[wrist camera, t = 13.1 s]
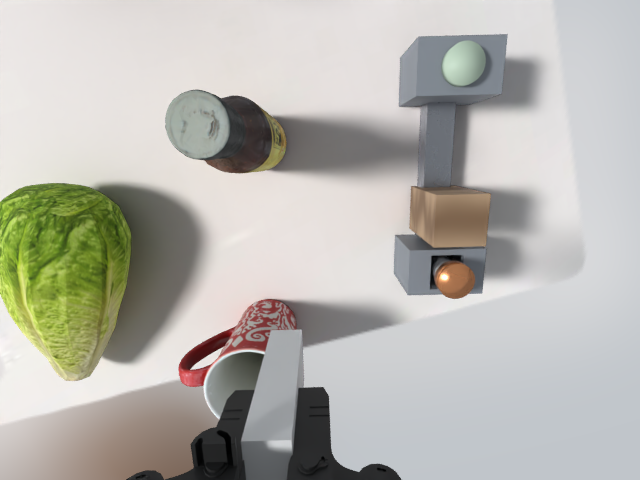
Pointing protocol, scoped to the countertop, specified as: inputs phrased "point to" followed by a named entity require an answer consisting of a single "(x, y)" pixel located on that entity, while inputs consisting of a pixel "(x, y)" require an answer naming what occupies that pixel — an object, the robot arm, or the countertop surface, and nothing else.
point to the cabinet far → (416, 264)
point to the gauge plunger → (451, 276)
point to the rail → (436, 144)
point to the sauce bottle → (225, 132)
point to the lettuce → (64, 271)
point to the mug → (236, 353)
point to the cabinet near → (452, 69)
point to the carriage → (450, 216)
